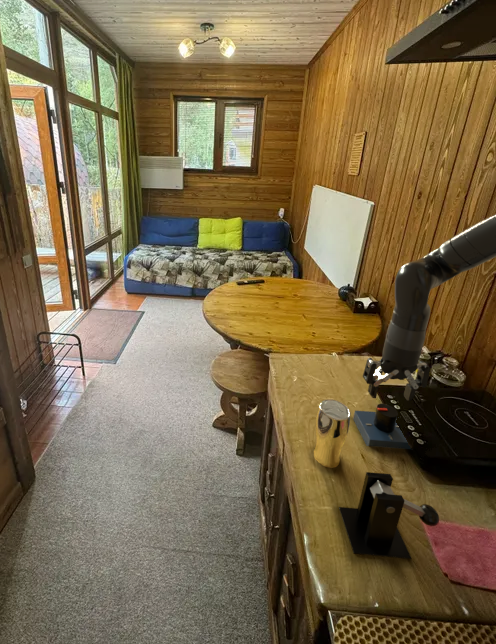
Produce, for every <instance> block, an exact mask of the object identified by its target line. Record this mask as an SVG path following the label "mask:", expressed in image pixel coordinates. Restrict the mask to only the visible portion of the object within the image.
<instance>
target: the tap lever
mask: <svg viewBox="0 0 496 644" xmlns="http://www.w3.org/2000/svg"><path fill="white" fill-rule="evenodd" d="M370 490H371V493H372V495H373V497H374V498H375V494H376V493H379V494H391V495H396V494H395V493H394V491H393V489H392V486H391V487H390V486H388V485H386V484H384V483H382V482H380V481H377V482H376V483H375V484H374V485H373V486H372V487H371V488H370ZM403 499H404V505H403V508H402V509H405V510H407V511H409V512H411V513H413V514H415V515H418V518H419V519H420V521H421V522H422V523H423V524H425V525H426V526H428V527H436V526H438V524H439V523H440V516H439V513H438V511H437V510H436V509H435V508H434V507H433V506H432V505H430V504H426V503H424V504H421V505H418V504H416V503H414V502H411V501H409V500H407V499H405V498H403Z"/></svg>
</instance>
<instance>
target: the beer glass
mask: <svg viewBox="0 0 496 644" xmlns="http://www.w3.org/2000/svg"><path fill="white" fill-rule="evenodd" d="M351 414H352V413H351V410H350V409H349V407H348V406H347V405H346V404H345V403H343V402H341V401H339V400H336V399H333V398H328V399H323V400H321V402H320V403H319V407H318V410H317V415H316V419H315V436H316V444H315V448H314V450H313V457H314V459H315V460H316V461H317V463H318V464H320V465H322V466H323V467H326V468H336V467H338V465H339V464H340V462H341V460H340V454H341V450H342V448H343V446H344V444H345V442H346V441H347V437H348V434H349V430H350V424H351Z"/></svg>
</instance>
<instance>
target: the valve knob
mask: <svg viewBox="0 0 496 644" xmlns="http://www.w3.org/2000/svg"><path fill="white" fill-rule="evenodd" d="M375 408H376V409H375V411H374V412H375V417H374V421H373V423H374V425H375V427H376V428H377V429H379V430H381V431H383V432H386V433H391V432H393V431H394V428H395V424H396V420H397V416H399V413H398V410H397V409H396V408H395V407H393V406H392V405H390V404H387V403H377V405H376V407H375Z"/></svg>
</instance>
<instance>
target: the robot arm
mask: <svg viewBox="0 0 496 644" xmlns="http://www.w3.org/2000/svg"><path fill="white" fill-rule="evenodd" d="M494 258H496V213H494V214H492V215H490V216H487V217H486V218H484V219H482V220H480V221H478V222H476V223H474V224H473V225H471V226H468V227H467V228H466V229H463V230H462V231H460V232H459V233H457V234H455V235H453V236H452V237H451V238H448V239H447V240H446V241H445V242H443V243H442V244H440V246H439V248H436V249H435V250H432V251H430V252H429V253H427V254H426V255H424V256H422V257H419V258H418V259H416V260H412V261H409V262H407V263H406V262H405V264H403V265H402V266H401V267H400V268H399V270H398V271H397V273H396V276H395V279H394V307H393V311H392V314H391V318H390V322H389V324H388V327H387V329H386V334H385V339H384V344H383V348H382V354H381V355H382V356H381V358H380V359H379V360H376V359H375V360H374V359H373V358H372V357H368V358H367V359H366V363H365V366H364V370H363V373H362V378H363V379H364V381H365V383H366V384H368V388H367V393H368V394H369V396H370V397H371V399H377V396H378V392H379V388H380V387H379V386H380V385H381V384H382V383H386V382H387V381H389V380H400V381H404V380H406V382H407V383H406V384H405V388H404V392H403V397H404V399H406V401H407V402H411V401H412V400H413V399H414V398H415V394H416V391H417V390H418V389H419V388H422V389H424V388H425V389H426V388H427V386H428V381H429V377H430V371H431V367H430V366H429V364H427V363H426V362H425V361H424V360H420V358H421V354H422V350H423V348H424V344H425V341H426V332H427V328H428V323H429V320H430V316H431V311H432V310H431V306H430V304H428V302H429V297H430V293H431V290H433V289H434V288H437V287H439V286H440V285H442V284H444V283H446V282H448V281H450V280H451V279H453V278H455V277H456V276H458V275H459V274H461V273H464V272H468V271H469V270H473V269H474V268H476V267H479V266H481V265H483V264H484V263H486V262H488V261H490V260H492V259H494ZM415 372H416V377H415V378H414V376H413V375H412V374H414V373H415ZM383 374H384V375H383Z"/></svg>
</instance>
